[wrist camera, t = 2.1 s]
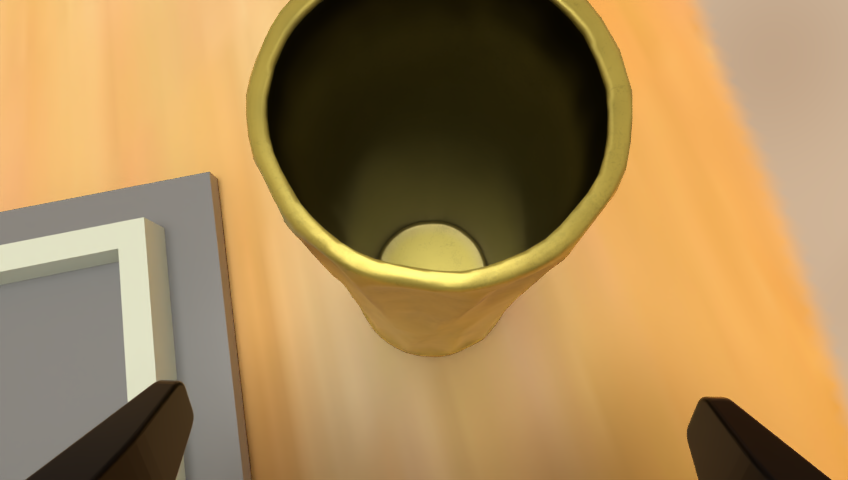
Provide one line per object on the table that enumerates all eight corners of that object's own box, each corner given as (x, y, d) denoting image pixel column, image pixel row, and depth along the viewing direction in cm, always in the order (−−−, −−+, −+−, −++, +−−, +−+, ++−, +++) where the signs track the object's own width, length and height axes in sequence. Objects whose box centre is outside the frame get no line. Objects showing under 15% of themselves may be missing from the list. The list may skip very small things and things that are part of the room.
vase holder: (258, 540, 18) (234, 564, 16) (-144, 630, 18) (-226, 666, 16) (217, 178, 22) (193, 157, 20) (-123, 244, 21) (-188, 229, 19)
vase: (438, 390, 20) (459, 443, 6) (324, 283, 21) (111, 110, 7) (540, 273, 21) (765, 80, 7) (426, 177, 22) (422, -162, 8)
